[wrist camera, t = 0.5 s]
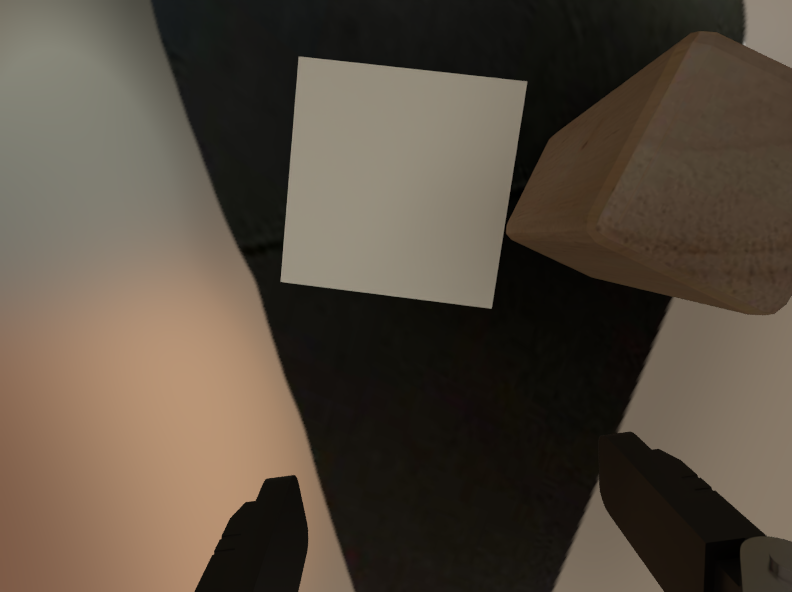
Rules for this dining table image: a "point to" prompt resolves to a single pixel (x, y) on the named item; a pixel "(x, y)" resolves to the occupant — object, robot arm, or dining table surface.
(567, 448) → the dining table surface
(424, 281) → the pale grey mat
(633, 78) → the wooden block
